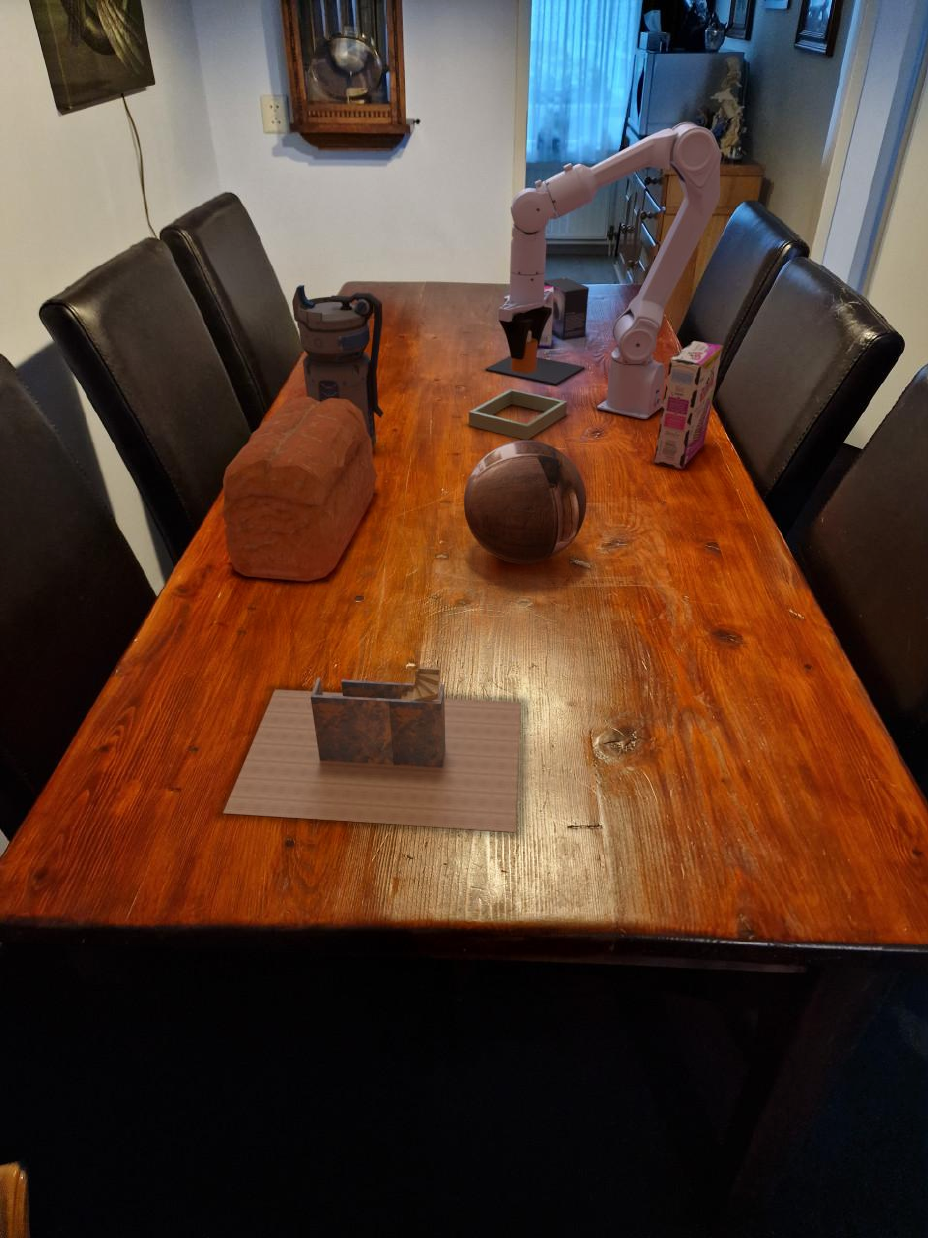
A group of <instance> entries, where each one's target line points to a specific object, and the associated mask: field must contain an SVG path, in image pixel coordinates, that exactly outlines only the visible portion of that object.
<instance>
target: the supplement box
mask: <svg viewBox="0 0 928 1238" xmlns="http://www.w3.org/2000/svg"><path fill="white" fill-rule="evenodd" d="M544 290H548V291H552V302H551V303H549V304H547V303H545V305H544V307H549V308H552V314H551V316H550V317H549V319H548V321H547V323H546V325H545V327H544V330H543V333H542V336H541V340H540V344H539V347H538V349H551V348H552V338H553V337H552V335H553V334H552V319H553V297H554V290H553V287H544Z"/></svg>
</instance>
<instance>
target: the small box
mask: <svg viewBox="0 0 928 1238" xmlns="http://www.w3.org/2000/svg"><path fill="white" fill-rule="evenodd" d="M544 287H553V290H554V297H553V319H552V335H553V336H556V337H558V338H559V339H561V340H567V339H574V338H575V339H576V338H581V337H586V335H587V332H586V331H587V317H588V316H587V315H588V301H589V292H590V287H589V286H586V285H584V284H582V283H579V282H577V281H575V280H572V279H570V278H568V277H566V276H565V277H558V278H552V279H545V282H544Z"/></svg>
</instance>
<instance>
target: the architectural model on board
mask: <svg viewBox="0 0 928 1238" xmlns="http://www.w3.org/2000/svg"><path fill="white" fill-rule="evenodd" d="M417 664H418V665H417V670H416V669H415V670H414V682H399V681H398V682H397V681H380V680H379V681H374V680H359V679H344V678H342V679H341V682H340V683H341V691H342V692H331V691H323V685H322V678H321V677H317V678H316V680H315V683H314V685H313V687H312V688H313V689H312V690H293V689H276V688H275V689H274V691H273V692H272V696H271V698H270V701H269V703H268V705H267V707H266V710H265V713H264V714H263V718H262V719H261V721H260V723H259V727H258V728H257V731H256V733H255V736H254V738H253V741H252V743H251V746H250V748H249V750H248V753H247V755H246V758H245V760H244V763H243V764H242V767H241V770H240V771H239V774H238V777H237V778H236V781H235V783H234V786H233V789H232V791H231V793H230V796H229V798H228V800H227V803H226V805H225V807H224V810H223V812H222V813H223V814H229V815H247V816H262V817H276V818H278V817H279V818H291V819H292V818H293V819H307V820H309V819H310V820H325V821H337V822H338V821H339V822H355V823H368V824H369V823H370V824H383V825H385V824H387V825H400V826H401V825H403V826H417V827H429V828H430V827H433V828H446V829H463V830H464V829H465V830H476V831H477V830H478V831H479V830H480V831H492V832H493V831H494V832H508V833H509V832H510V833H516V830H517V829H516V827H517V826H516V825H517V807H518V805H517V803H518V782H519V781H518V779H519V778H518V776H519V755H520V730H521V726H520V725H521V710H522V709H521V707H522V703H521V702H517V701H502V700H501V701H500V700H480V699H477V700H476V699H465V698H463V699H461V698H445V684H444V683H441V667H442V663H441V662H440V663H439V667H438V666H437V667H436V666H435V667H433V666H421V665H420V662H418V663H417Z"/></svg>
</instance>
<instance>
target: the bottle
mask: <svg viewBox="0 0 928 1238" xmlns="http://www.w3.org/2000/svg"><path fill="white" fill-rule="evenodd" d="M531 333H532V332H531V331H529V332H528V335H527V340H526V347H525V354H524V357H523V359H522V360H520V359H515V358H511V370H512V371H514V372H517V373H532V372H534V371H536V363H537V357H538V350H537V342H538V341H537V340H536V339H535V338H531Z"/></svg>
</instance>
